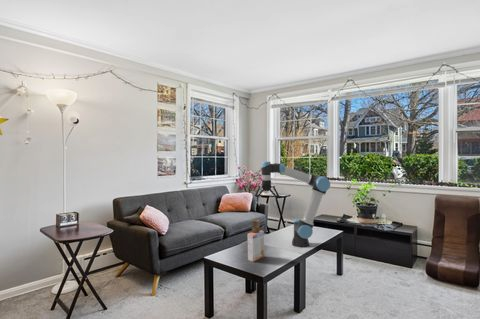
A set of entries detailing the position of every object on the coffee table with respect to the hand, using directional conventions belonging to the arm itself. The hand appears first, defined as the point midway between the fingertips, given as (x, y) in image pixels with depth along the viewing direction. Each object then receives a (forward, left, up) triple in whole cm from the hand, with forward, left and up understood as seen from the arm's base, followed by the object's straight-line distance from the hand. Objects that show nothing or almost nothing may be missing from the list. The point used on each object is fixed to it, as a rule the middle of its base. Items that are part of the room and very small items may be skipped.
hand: (267, 205), depth 248 cm
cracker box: (+5, +23, -38) cm, 45 cm away
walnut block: (+5, +23, -17) cm, 29 cm away
